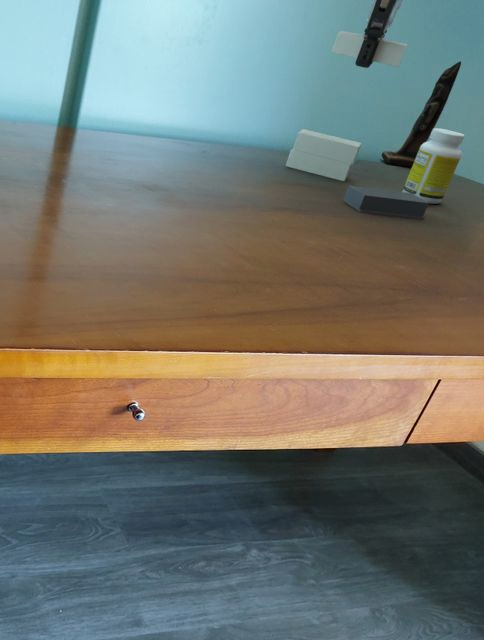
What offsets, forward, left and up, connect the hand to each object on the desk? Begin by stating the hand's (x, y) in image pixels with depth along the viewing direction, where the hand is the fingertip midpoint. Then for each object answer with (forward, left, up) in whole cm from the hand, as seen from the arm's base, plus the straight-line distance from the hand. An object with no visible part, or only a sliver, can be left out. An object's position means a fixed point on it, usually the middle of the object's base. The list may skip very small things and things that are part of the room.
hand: (363, 64), depth 114 cm
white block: (0, 0, +1) cm, 1 cm away
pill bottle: (-16, 0, -19) cm, 25 cm away
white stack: (0, -5, -18) cm, 19 cm away
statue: (-19, -28, -19) cm, 38 cm away
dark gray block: (-6, +20, -18) cm, 28 cm away
